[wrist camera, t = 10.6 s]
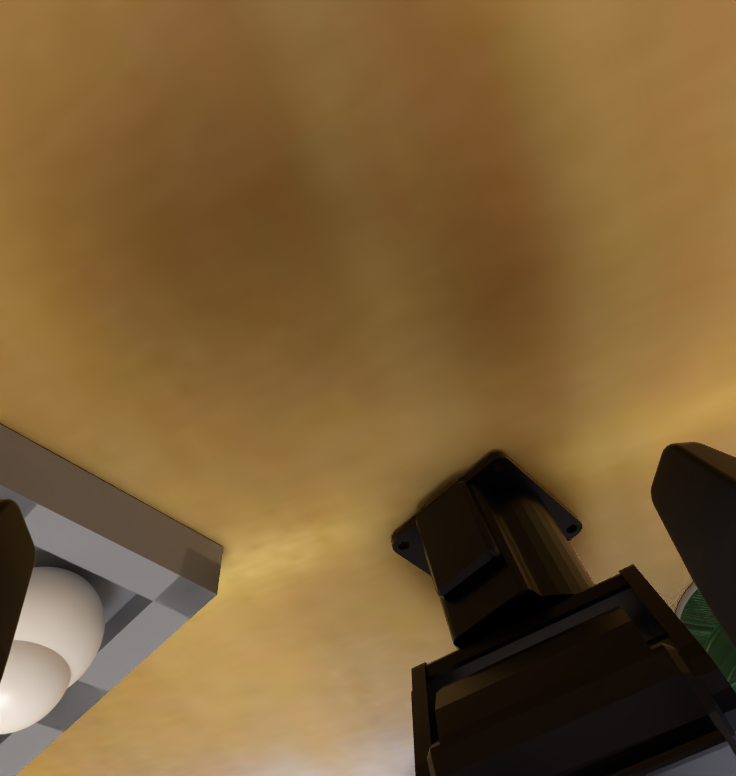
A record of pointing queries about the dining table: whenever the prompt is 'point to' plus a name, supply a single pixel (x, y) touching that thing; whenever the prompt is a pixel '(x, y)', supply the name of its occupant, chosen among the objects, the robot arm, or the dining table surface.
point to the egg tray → (112, 565)
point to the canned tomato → (708, 632)
